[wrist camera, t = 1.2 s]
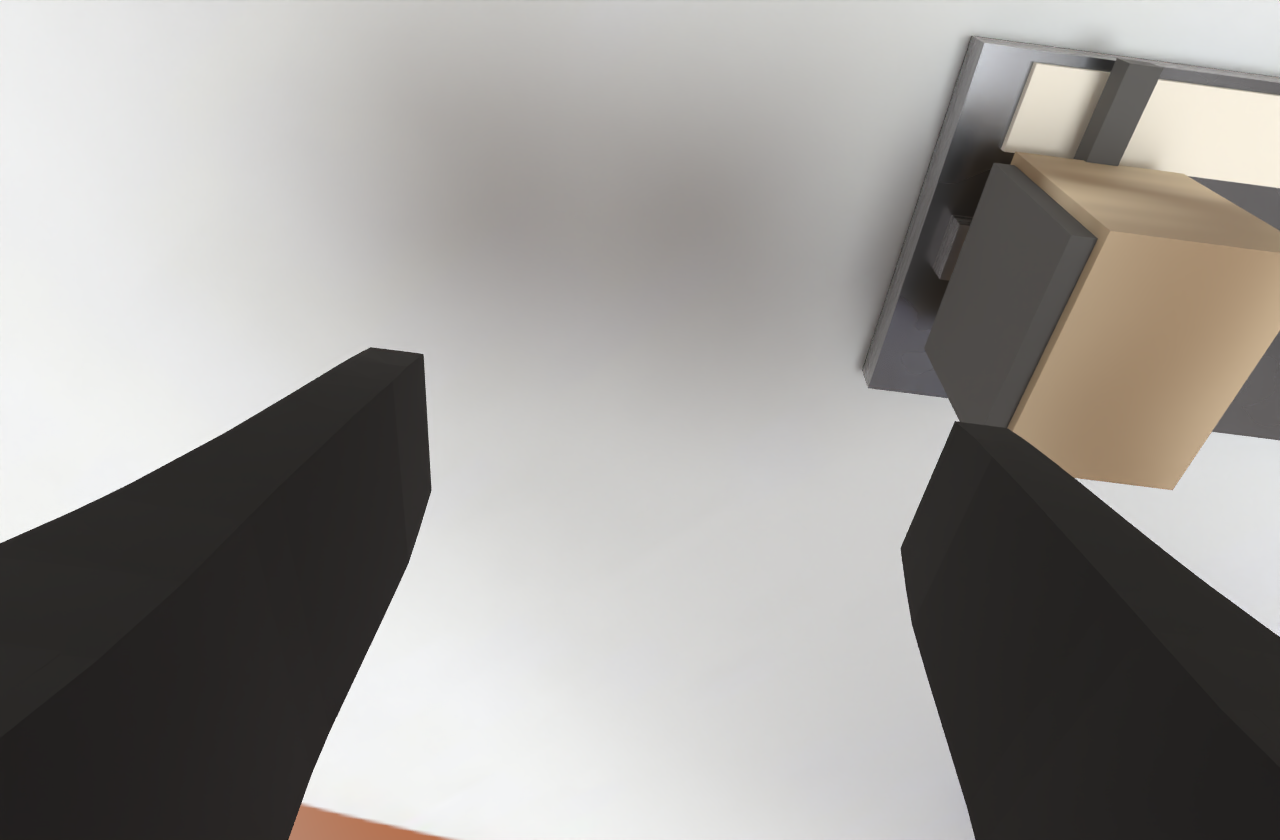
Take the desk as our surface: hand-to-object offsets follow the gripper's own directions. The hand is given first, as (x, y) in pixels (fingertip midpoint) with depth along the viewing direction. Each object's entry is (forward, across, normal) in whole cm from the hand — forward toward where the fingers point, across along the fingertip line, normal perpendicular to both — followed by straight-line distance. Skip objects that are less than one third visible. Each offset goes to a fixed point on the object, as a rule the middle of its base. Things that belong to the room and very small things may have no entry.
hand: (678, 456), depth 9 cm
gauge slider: (+8, -7, -1) cm, 11 cm away
